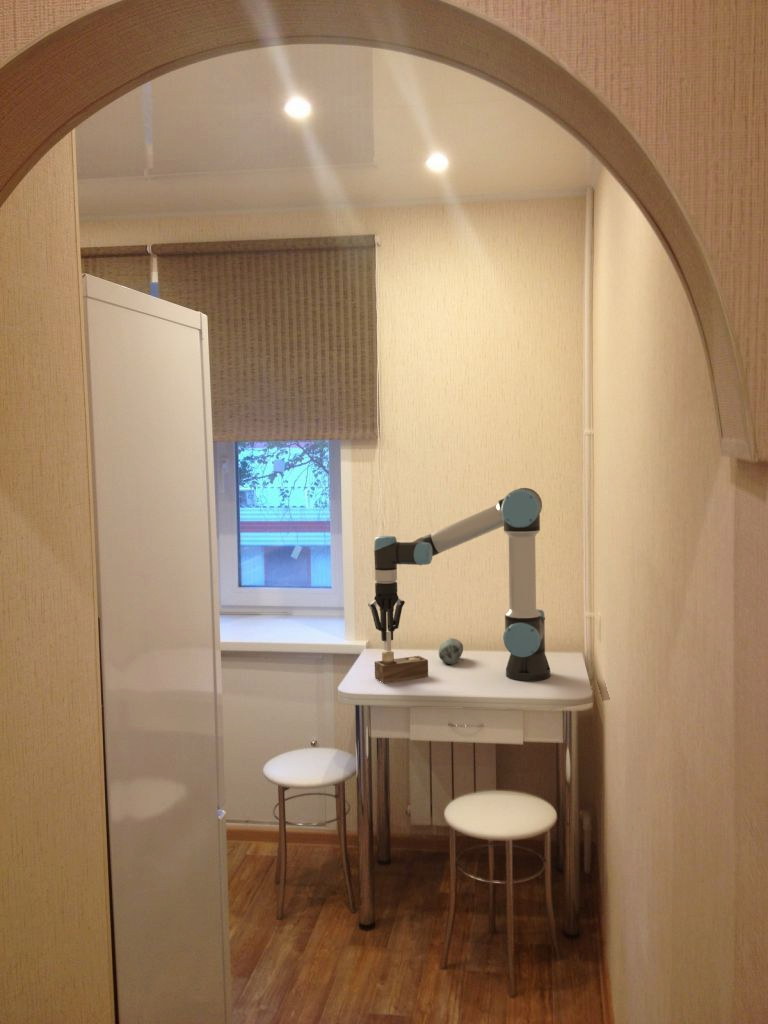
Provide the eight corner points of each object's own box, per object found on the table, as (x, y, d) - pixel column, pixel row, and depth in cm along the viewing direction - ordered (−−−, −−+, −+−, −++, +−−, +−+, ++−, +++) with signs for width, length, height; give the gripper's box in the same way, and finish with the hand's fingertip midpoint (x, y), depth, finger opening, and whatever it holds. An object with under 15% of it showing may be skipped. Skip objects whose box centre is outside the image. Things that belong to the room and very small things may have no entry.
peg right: (422, 673, 310) (422, 659, 309) (412, 675, 308) (411, 660, 307) (417, 671, 313) (416, 657, 313) (406, 672, 311) (406, 658, 311)
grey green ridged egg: (464, 658, 321) (452, 632, 324) (441, 669, 323) (429, 644, 326) (472, 658, 334) (460, 634, 337) (449, 669, 336) (438, 645, 339)
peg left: (396, 667, 305) (395, 652, 305) (385, 668, 303) (384, 654, 303) (391, 664, 309) (390, 650, 308) (380, 666, 307) (380, 651, 307)
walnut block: (428, 676, 309) (427, 659, 308) (383, 683, 302) (383, 665, 301) (419, 672, 315) (418, 655, 315) (375, 678, 308) (374, 661, 308)
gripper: (398, 578, 310) (400, 645, 312) (364, 581, 305) (365, 650, 306) (408, 581, 303) (409, 650, 305) (373, 584, 298) (374, 654, 300)
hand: (387, 650), depth 306 cm, fingers closed
